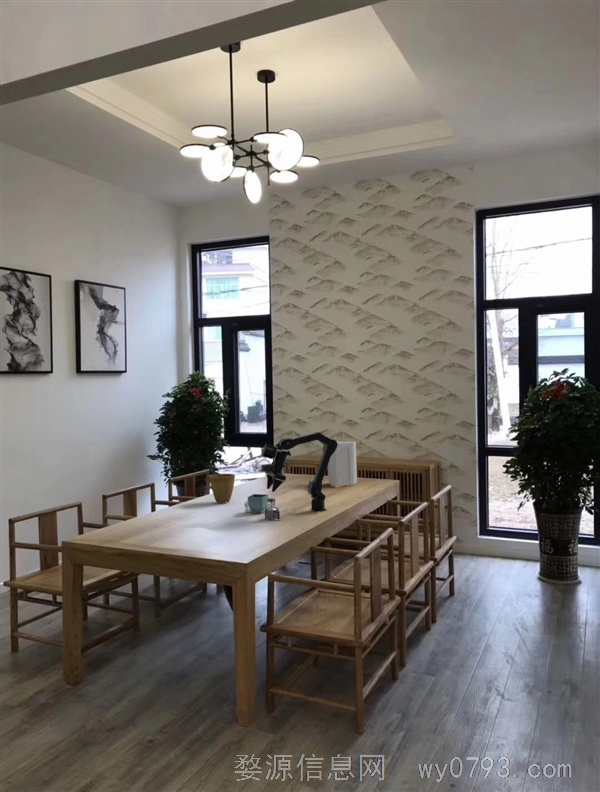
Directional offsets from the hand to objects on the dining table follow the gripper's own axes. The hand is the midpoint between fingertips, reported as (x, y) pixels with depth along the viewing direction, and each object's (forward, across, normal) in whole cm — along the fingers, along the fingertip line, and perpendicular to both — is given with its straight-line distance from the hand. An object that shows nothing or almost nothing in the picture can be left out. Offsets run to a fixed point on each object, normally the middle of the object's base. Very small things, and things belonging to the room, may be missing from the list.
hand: (270, 490), depth 331 cm
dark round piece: (+9, +9, +1) cm, 12 cm away
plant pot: (+18, -46, -10) cm, 50 cm away
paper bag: (-10, -66, +67) cm, 95 cm away
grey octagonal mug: (+13, +10, +3) cm, 16 cm away
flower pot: (+14, -9, +1) cm, 17 cm away
